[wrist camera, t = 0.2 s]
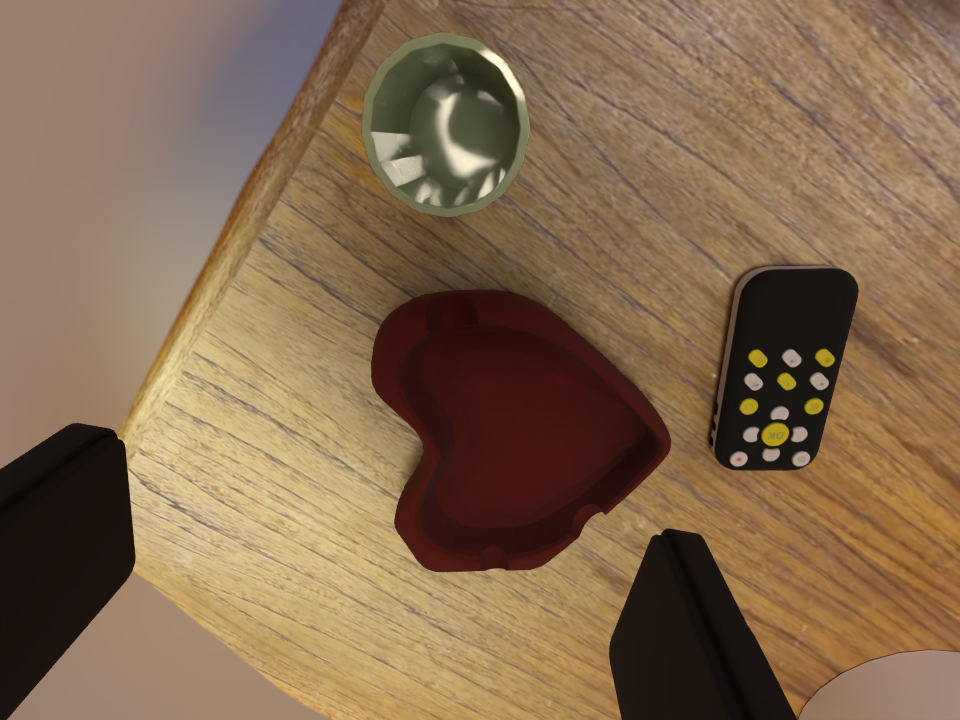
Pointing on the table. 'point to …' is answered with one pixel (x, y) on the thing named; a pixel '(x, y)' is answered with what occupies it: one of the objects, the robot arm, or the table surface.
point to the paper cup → (445, 124)
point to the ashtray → (507, 429)
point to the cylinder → (892, 690)
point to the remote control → (781, 365)
